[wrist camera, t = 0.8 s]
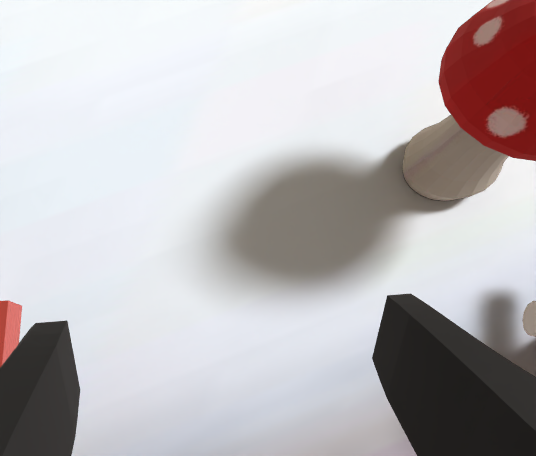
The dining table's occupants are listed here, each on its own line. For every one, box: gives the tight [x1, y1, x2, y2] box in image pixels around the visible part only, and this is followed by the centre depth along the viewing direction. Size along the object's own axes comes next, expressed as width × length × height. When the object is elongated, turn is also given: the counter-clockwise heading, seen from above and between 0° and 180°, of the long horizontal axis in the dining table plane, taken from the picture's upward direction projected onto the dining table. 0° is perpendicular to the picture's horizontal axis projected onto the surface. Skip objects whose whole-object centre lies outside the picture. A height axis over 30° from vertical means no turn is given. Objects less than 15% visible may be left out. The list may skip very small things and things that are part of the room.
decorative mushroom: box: [402, 0, 536, 201], centre depth 25 cm, size 10×9×15 cm
